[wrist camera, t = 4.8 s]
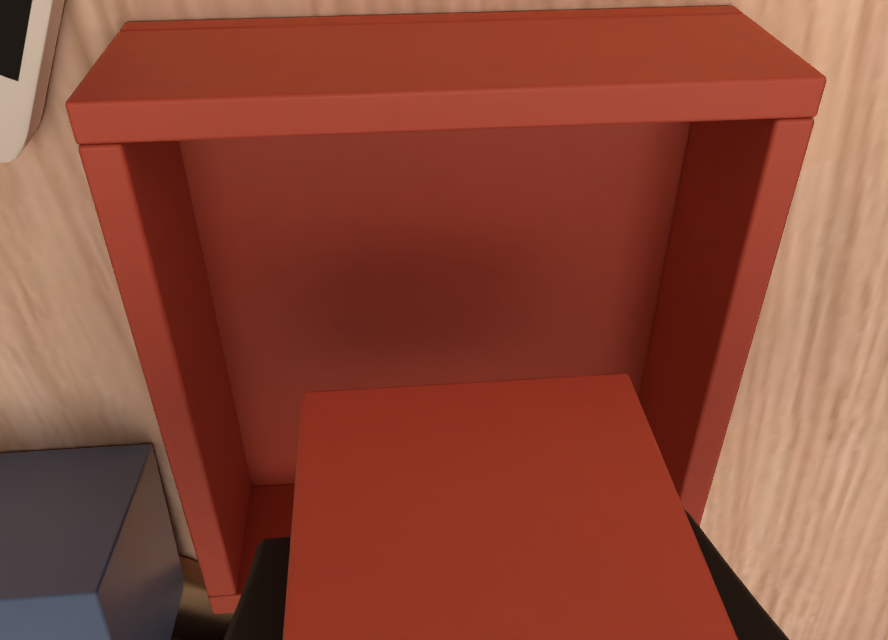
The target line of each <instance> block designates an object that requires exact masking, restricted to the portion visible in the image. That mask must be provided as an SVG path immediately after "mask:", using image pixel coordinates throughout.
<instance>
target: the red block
mask: <svg viewBox="0 0 888 640" xmlns="http://www.w3.org/2000/svg"><path fill="white" fill-rule="evenodd" d="M283 640H738V638H737V636H736V634H735V631H734V629H733V626H732V624H731V622H730V619H729V617H728V614H727V612H726V609H725V607H724V605H723V602H722V600H721V597H720V595H719V593H718V590H717V588H716V585H715V583H714V580H713V578H712V576H711V573H710V571H709V568H708V566H707V563H706V561H705V559H704V556H703V554H702V551H701V549H700V547H699V544H698V542H697V539H696V537H695V534H694V532H693V530H692V527H691V525H690V522H689V520H688V518H687V515H686V513H685V510H684V508H683V505H682V503H681V501H680V498H679V496H678V493H677V491H676V488H675V486H674V484H673V481H672V479H671V476H670V474H669V472H668V469H667V467H666V464H665V462H664V459H663V457H662V455H661V452H660V450H659V447H658V445H657V443H656V440H655V438H654V435H653V433H652V430H651V428H650V426H649V423H648V421H647V418H646V416H645V413H644V411H643V409H642V406H641V404H640V401H639V399H638V397H637V394H636V392H635V389H634V387H633V384H632V382H631V380H630V377H629V375H628V374H625V373H619V374H602V375H585V376H568V377H551V378H534V379H517V380H500V381H483V382H466V383H449V384H432V385H415V386H398V387H381V388H364V389H347V390H330V391H313V392H306V393H304V394H303V396H302V400H301V413H300V426H299V438H298V451H297V464H296V477H295V489H294V502H293V515H292V527H291V540H290V553H289V565H288V578H287V591H286V603H285V616H284V629H283Z"/></svg>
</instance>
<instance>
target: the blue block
mask: <svg viewBox="0 0 888 640" xmlns="http://www.w3.org/2000/svg"><path fill="white" fill-rule="evenodd" d="M183 580H184V576H183V572H182V568H181V564H180V560H179V555H178V551H177V547H176V543H175V538H174V534H173V530H172V526H171V522H170V517H169V513H168V509H167V505H166V500H165V496H164V492H163V488H162V484H161V479H160V475H159V471H158V467H157V462H156V458H155V454H154V450H153V446H152V444H140V445H124V446H108V447H92V448H77V449H61V450H45V451H29V452H13V453H0V640H171V636H172V632H173V628H174V624H175V620H176V616H177V612H178V608H179V605H180V601H181V597H182V593H183V589H184V587H183Z"/></svg>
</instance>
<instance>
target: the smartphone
mask: <svg viewBox="0 0 888 640" xmlns="http://www.w3.org/2000/svg"><path fill="white" fill-rule="evenodd" d="M64 1H65V0H0V163H9V162H11V161H12V160H14V159H15V158H17V157H18V155H19V154H20V153H21V151H22V150H23V149H24V147H25V146H26V145H27V144H28V142H29V141H30V140H31V138H32V137H33V135H34V134H35V132H36V131H37V129H38V127H39V124H40V121H41V117H42V114H43V108H44V103H45V98H46V93H47V88H48V83H49V78H50V72H51V67H52V62H53V57H54V52H55V47H56V42H57V37H58V31H59V26H60V21H61V16H62V11H63V6H64Z"/></svg>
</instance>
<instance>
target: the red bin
mask: <svg viewBox="0 0 888 640" xmlns="http://www.w3.org/2000/svg"><path fill="white" fill-rule="evenodd" d="M825 84H826V77H825V76H824V75H823V74H821V73H820V72H819V71H817V70H816V69H815V68H814V67H812V66H811V65H810V64H808V63H807V62H806V61H804V60H803V59H802V58H801V57H799V56H798V55H797V54H795V53H794V52H793V51H791V50H790V49H789V48H788V47H786V46H785V45H784V44H782V43H781V42H780V41H778V40H777V39H776V38H775V37H773V36H772V35H771V34H769V33H768V32H767V31H765V30H764V29H763V28H762V27H760V26H759V25H758V24H756V23H755V22H754V21H753V20H751V19H750V18H749V17H747V16H746V15H744V14H743V13H742V12H741V11H740V10H738V9H737V8H736V7H734V6H698V7H662V8H625V9H588V10H551V11H515V12H478V13H441V14H404V15H368V16H331V17H294V18H258V19H221V20H184V21H147V22H127V23H125V24H124V26H123V27H122V28H121V30H120V32H119V33H118V34H117V35H116V36H115V38H114V39H113V40H112V42H111V43H110V44H109V46H108V47H107V48H106V50H105V51H104V52H103V54H102V55H101V56H100V58H99V59H98V60H97V62H96V63H95V64H94V66H93V67H92V68H91V70H90V71H89V72H88V74H87V75H86V76H85V78H84V79H83V80H82V82H81V83H80V84H79V86H78V87H77V88H76V90H75V91H74V92H73V94H72V95H71V96H70V98H69V99H68V100H67V102H66V105H65V106H66V109H67V113H68V116H69V120H70V123H71V127H72V130H73V134H74V137H75V140H76V142H77V144H80V145H79V149H78V150H79V153H80V156H81V160H82V163H83V167H84V170H85V174H86V177H87V181H88V184H89V187H90V191H91V194H92V198H93V201H94V205H95V208H96V211H97V215H98V218H99V222H100V225H101V229H102V232H103V236H104V239H105V242H106V246H107V249H108V253H109V256H110V260H111V263H112V267H113V270H114V273H115V277H116V280H117V284H118V287H119V291H120V294H121V298H122V301H123V304H124V308H125V311H126V315H127V318H128V322H129V325H130V328H131V332H132V335H133V339H134V342H135V346H136V349H137V353H138V356H139V359H140V363H141V366H142V370H143V373H144V377H145V380H146V384H147V387H148V390H149V394H150V397H151V401H152V404H153V408H154V411H155V415H156V418H157V421H158V425H159V428H160V432H161V435H162V439H163V442H164V446H165V449H166V452H167V456H168V459H169V463H170V466H171V470H172V473H173V476H174V480H175V483H176V487H177V490H178V494H179V497H180V501H181V504H182V507H183V511H184V514H185V518H186V521H187V525H188V528H189V532H190V535H191V538H192V542H193V545H194V549H195V552H196V556H197V559H198V563H199V566H200V569H201V573H202V576H203V580H204V583H205V587H206V590H207V593H208V595H209V596H208V599H209V602H210V605H211V609H212V612H213V614H221V613H234V612H235V610H236V607H237V605H238V602H239V599H240V597H241V594H242V591H243V588H244V586H245V583H246V580H247V577H248V574H249V571H250V568H251V565H252V561H253V558H254V555H255V551H256V548H257V545H258V544H259V543H260V542H261V541H262V540H264V539H266V538H280V537H291V527H292V515H293V502H294V489H295V477H296V464H297V451H298V438H299V426H300V413H301V400H302V396H303V394H304V393H306V392H313V391H330V390H347V389H364V388H381V387H398V386H415V385H432V384H449V383H466V382H483V381H500V380H517V379H534V378H551V377H568V376H585V375H602V374H619V373H625V374H628V375H629V377H630V380H631V382H632V384H633V387H634V389H635V392H636V394H637V397H638V399H639V401H640V404H641V406H642V409H643V411H644V413H645V416H646V418H647V421H648V423H649V426H650V428H651V430H652V433H653V435H654V438H655V440H656V443H657V445H658V447H659V450H660V452H661V455H662V457H663V459H664V462H665V464H666V467H667V469H668V472H669V474H670V476H671V479H672V481H673V484H674V486H675V488H676V491H677V493H678V496H679V498H680V501H681V503H682V505H683V508H684V509H685V510H686V511H687V512H688V513H689V514H690V515H691V516H692V518H693V519H694V520H695V522H696V523H697V524H698V526H700V522H701V519H702V515H703V512H704V508H705V505H706V501H707V498H708V494H709V491H710V487H711V484H712V480H713V476H714V473H715V469H716V466H717V462H718V459H719V455H720V452H721V448H722V445H723V441H724V438H725V434H726V431H727V427H728V424H729V420H730V417H731V413H732V410H733V406H734V403H735V399H736V396H737V392H738V389H739V385H740V381H741V378H742V374H743V371H744V367H745V364H746V360H747V357H748V353H749V350H750V346H751V343H752V339H753V336H754V332H755V329H756V325H757V322H758V318H759V315H760V311H761V308H762V304H763V301H764V297H765V294H766V290H767V287H768V283H769V279H770V276H771V272H772V269H773V265H774V262H775V258H776V255H777V251H778V248H779V244H780V241H781V237H782V234H783V230H784V227H785V223H786V220H787V216H788V213H789V209H790V206H791V202H792V199H793V195H794V192H795V188H796V184H797V181H798V177H799V174H800V170H801V167H802V163H803V160H804V156H805V153H806V149H807V146H808V142H809V139H810V135H811V132H812V128H813V125H814V119H813V118H812V117H815V116H816V115H817V112H818V108H819V105H820V101H821V98H822V94H823V91H824V87H825Z"/></svg>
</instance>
